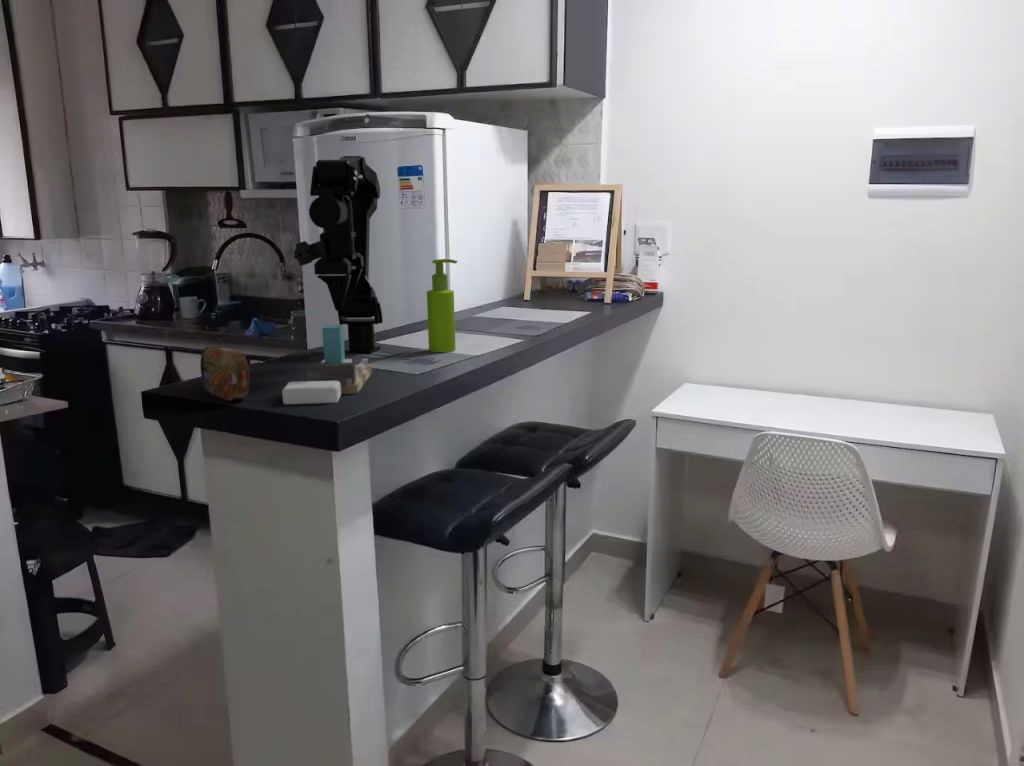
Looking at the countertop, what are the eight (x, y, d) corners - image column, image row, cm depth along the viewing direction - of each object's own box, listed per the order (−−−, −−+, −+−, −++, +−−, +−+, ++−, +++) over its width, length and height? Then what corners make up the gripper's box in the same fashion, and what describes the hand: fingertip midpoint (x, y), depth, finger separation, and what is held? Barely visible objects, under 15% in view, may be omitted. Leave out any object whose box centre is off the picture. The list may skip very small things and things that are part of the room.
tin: (201, 390, 135) (196, 343, 133) (218, 387, 137) (213, 341, 136) (237, 405, 125) (232, 355, 123) (255, 402, 127) (250, 352, 125)
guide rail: (325, 372, 148) (324, 347, 146) (372, 372, 148) (370, 346, 147) (304, 394, 131) (302, 366, 130) (357, 393, 131) (355, 365, 130)
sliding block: (325, 375, 138) (321, 324, 136) (352, 375, 138) (349, 324, 136) (318, 381, 133) (315, 329, 131) (347, 381, 133) (344, 328, 131)
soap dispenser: (459, 352, 166) (456, 260, 161) (427, 352, 166) (424, 260, 161) (460, 347, 172) (458, 258, 167) (430, 347, 172) (427, 258, 167)
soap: (342, 396, 131) (341, 379, 130) (337, 404, 126) (336, 387, 125) (289, 397, 130) (287, 380, 129) (282, 406, 125) (281, 388, 124)
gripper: (307, 226, 156) (313, 301, 159) (283, 229, 138) (290, 314, 141) (362, 225, 156) (366, 301, 160) (344, 228, 138) (350, 313, 141)
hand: (343, 307), depth 150 cm, fingers open, 9 cm apart
